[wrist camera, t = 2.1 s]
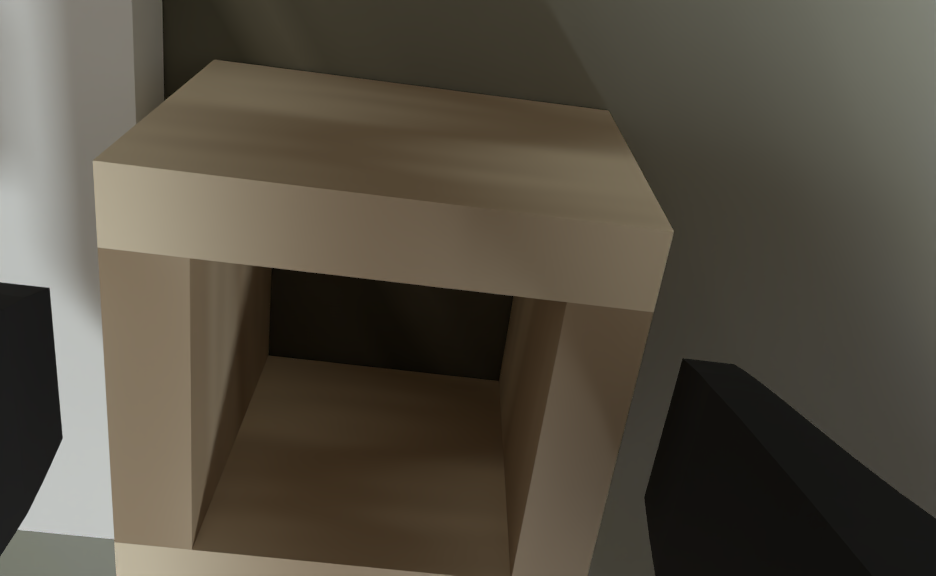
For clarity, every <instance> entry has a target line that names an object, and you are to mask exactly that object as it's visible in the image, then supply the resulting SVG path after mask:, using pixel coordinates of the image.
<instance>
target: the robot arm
mask: <svg viewBox="0 0 936 576" xmlns="http://www.w3.org/2000/svg"><path fill="white" fill-rule="evenodd" d="M62 439H63V435H62V424H61V412H60V401H59V389H58V378H57V366H56V355H55V344H54V332H53V321H52V309H51V298H50V288H47V287H38V286H29V285H20V284H11V283H2V282H0V556H1V554H2V553H3V551H4V550H5V548H6V546H7V545H8V543H9V542H10V540H11V539H12V537H13V536H14V534H15V533H16V531H17V529H18V528H19V526H20V525H21V523H22V522H23V520H24V518H25V517H26V515H27V514H28V512H29V510H30V508H31V506H32V504H33V502H34V499H35V497H36V495H37V493H38V491H39V489H40V487H41V485H42V483H43V481H44V479H45V477H46V475H47V472H48V470H49V468H50V466H51V464H52V461H53V459H54V457H55V455H56V452H57V450H58V448H59V446H60V444H61V441H62ZM644 499H645V506H646V514H647V522H648V530H649V538H650V544H651V551H652V557H653V564H654V570H655V575H656V576H936V519H935V518H934V517H933V516H931V515H930V514H928V513H927V512H926V511H924V510H923V509H921V508H920V507H919V506H917V505H916V504H915V503H913V502H912V501H910V500H909V499H908V498H906V497H905V496H903V495H902V494H901V493H899V492H898V491H897V490H895V489H894V488H893V487H891V486H890V485H889V484H887V483H886V482H885V481H883V480H882V479H881V478H879V477H878V476H877V475H876V474H874V473H873V472H872V471H870V470H869V469H868V468H866V467H865V466H864V465H863V464H861V463H860V462H859V461H858V460H856V459H855V458H854V457H852V456H851V455H850V454H849V453H847V452H846V451H845V450H844V449H842V448H841V447H840V446H839V445H837V444H836V443H835V442H834V441H832V440H831V439H830V438H829V437H827V436H826V435H825V434H824V433H823V432H821V431H820V430H819V429H818V428H816V427H815V426H814V425H813V424H811V423H810V422H809V421H808V420H807V419H805V418H804V417H803V416H802V415H800V414H799V413H798V412H797V411H795V410H794V409H793V408H792V407H791V406H789V405H788V404H787V403H786V402H784V401H783V400H782V399H781V398H779V397H778V396H777V395H776V394H774V393H773V392H772V391H771V390H769V389H768V388H767V387H766V386H764V385H763V384H762V383H760V382H759V381H758V380H756V379H755V378H754V377H752V376H751V375H750V374H748V373H747V372H745V371H744V370H742V369H741V368H739V367H738V366H736V365H734V364H727V363H718V362H709V361H700V360H691V359H683V360H682V363H681V367H680V370H679V374H678V378H677V381H676V385H675V389H674V392H673V396H672V399H671V403H670V407H669V410H668V414H667V418H666V421H665V425H664V428H663V432H662V436H661V439H660V443H659V447H658V450H657V454H656V457H655V461H654V465H653V468H652V472H651V475H650V479H649V483H648V486H647V490H646V494H645V497H644Z"/></svg>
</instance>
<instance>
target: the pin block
mask: <svg viewBox="0 0 936 576" xmlns="http://www.w3.org/2000/svg"><path fill="white" fill-rule="evenodd" d="M162 102H164V64H163V14H162V0H0V282H2V283H11V284H20V285H29V286H38V287H47V288H50V298H51V309H52V321H53V332H54V344H55V355H56V366H57V378H58V389H59V401H60V412H61V424H62V435H63V439H62V441H61V444H60V446H59V448H58V450H57V452H56V455H55V457H54V459H53V461H52V464H51V466H50V468H49V470H48V472H47V475H46V477H45V479H44V481H43V483H42V485H41V487H40V489H39V491H38V493H37V495H36V497H35V499H34V502H33V504H32V506H31V508H30V510H29V512H28V514H27V515H26V517H25V518H24V520H23V522H22V523H21V525H20V526H19V528H18V529H17V530H26V531H36V532H46V533H56V534H66V535H77V536H87V537H97V538H107V539H114V526H113V508H112V491H111V474H110V456H109V439H108V421H107V404H106V386H105V369H104V351H103V334H102V317H101V299H100V282H99V264H98V247H97V229H96V212H95V194H94V177H93V160H94V159H95V158H96V157H97V156H99V155H100V154H101V153H102V152H103V151H105V150H106V149H107V148H108V147H109V146H111V145H112V144H113V143H114V142H115V141H117V140H118V139H119V138H120V137H121V136H123V135H124V134H125V133H126V132H128V131H129V130H130V129H131V128H132V127H134V126H135V125H136V124H137V123H138V122H140V121H141V120H142V119H143V118H144V117H146V116H147V115H148V114H149V113H150V112H152V111H153V110H154V109H155V108H156V107H158V106H159V105H160V104H161V103H162Z"/></svg>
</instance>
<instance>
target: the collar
mask: <svg viewBox="0 0 936 576" xmlns="http://www.w3.org/2000/svg"><path fill="white" fill-rule="evenodd" d="M93 177H94V194H95V212H96V229H97V247H98V264H99V282H100V299H101V317H102V334H103V351H104V369H105V386H106V404H107V421H108V439H109V456H110V474H111V491H112V508H113V526H114V543H115V561H116V576H588V572H589V568H590V564H591V560H592V556H593V552H594V548H595V544H596V541H597V537H598V533H599V529H600V525H601V521H602V517H603V513H604V509H605V505H606V501H607V497H608V493H609V489H610V485H611V481H612V477H613V473H614V469H615V465H616V461H617V457H618V453H619V449H620V445H621V441H622V437H623V433H624V429H625V425H626V421H627V417H628V413H629V409H630V405H631V401H632V397H633V393H634V389H635V385H636V381H637V377H638V373H639V369H640V365H641V361H642V357H643V353H644V349H645V345H646V341H647V337H648V333H649V329H650V325H651V321H652V317H653V313H654V309H655V305H656V301H657V297H658V293H659V290H660V286H661V282H662V278H663V274H664V270H665V266H666V262H667V258H668V254H669V250H670V246H671V242H672V238H673V234H674V231H673V229H672V227H671V225H670V223H669V221H668V219H667V218H666V216H665V214H664V212H663V210H662V208H661V206H660V205H659V203H658V201H657V199H656V197H655V195H654V194H653V192H652V190H651V188H650V186H649V184H648V182H647V181H646V179H645V177H644V175H643V173H642V171H641V169H640V168H639V166H638V164H637V162H636V160H635V158H634V156H633V155H632V153H631V151H630V149H629V147H628V145H627V144H626V142H625V140H624V138H623V136H622V134H621V132H620V131H619V129H618V127H617V125H616V123H615V121H614V119H613V118H612V116H611V114H610V112H609V111H608V110H600V109H592V108H585V107H577V106H569V105H561V104H554V103H546V102H538V101H530V100H523V99H515V98H507V97H500V96H492V95H484V94H476V93H469V92H461V91H453V90H446V89H438V88H430V87H422V86H415V85H407V84H399V83H392V82H384V81H376V80H368V79H361V78H353V77H345V76H338V75H330V74H322V73H314V72H307V71H299V70H291V69H283V68H276V67H268V66H260V65H253V64H245V63H237V62H229V61H222V60H213V61H212V62H211V63H209V64H208V65H207V66H206V67H205V68H203V69H202V70H201V71H200V72H199V73H197V74H196V75H195V76H194V77H193V78H191V79H190V80H189V81H188V82H187V83H185V84H184V85H183V86H182V87H180V88H179V89H178V90H177V91H176V92H174V93H173V94H172V95H171V96H170V97H168V98H167V99H166V100H165V101H164V102H162V103H161V104H160V105H159V106H158V107H156V108H155V109H154V110H153V111H152V112H150V113H149V114H148V115H147V116H146V117H144V118H143V119H142V120H141V121H140V122H138V123H137V124H136V125H135V126H134V127H132V128H131V129H130V130H129V131H128V132H126V133H125V134H124V135H123V136H121V137H120V138H119V139H118V140H117V141H115V142H114V143H113V144H112V145H111V146H109V147H108V148H107V149H106V150H105V151H103V152H102V153H101V154H100V155H99V156H97V157H96V158H95V159H94V160H93ZM272 268H278V269H287V270H295V271H304V272H312V273H321V274H329V275H338V276H347V277H355V278H364V279H372V280H381V281H389V282H398V283H407V284H415V285H424V286H432V287H441V288H449V289H458V290H467V291H475V292H484V293H492V294H501V295H509V296H513V302H512V308H511V314H510V320H509V326H508V331H507V337H506V343H505V349H504V355H503V361H502V366H501V372H500V378H499V381H494V380H485V379H476V378H467V377H458V376H448V375H439V374H430V373H421V372H412V371H403V370H394V369H385V368H376V367H367V366H358V365H349V364H340V363H331V362H322V361H313V360H304V359H295V358H286V357H277V356H268V352H269V325H270V298H271V271H272Z"/></svg>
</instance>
